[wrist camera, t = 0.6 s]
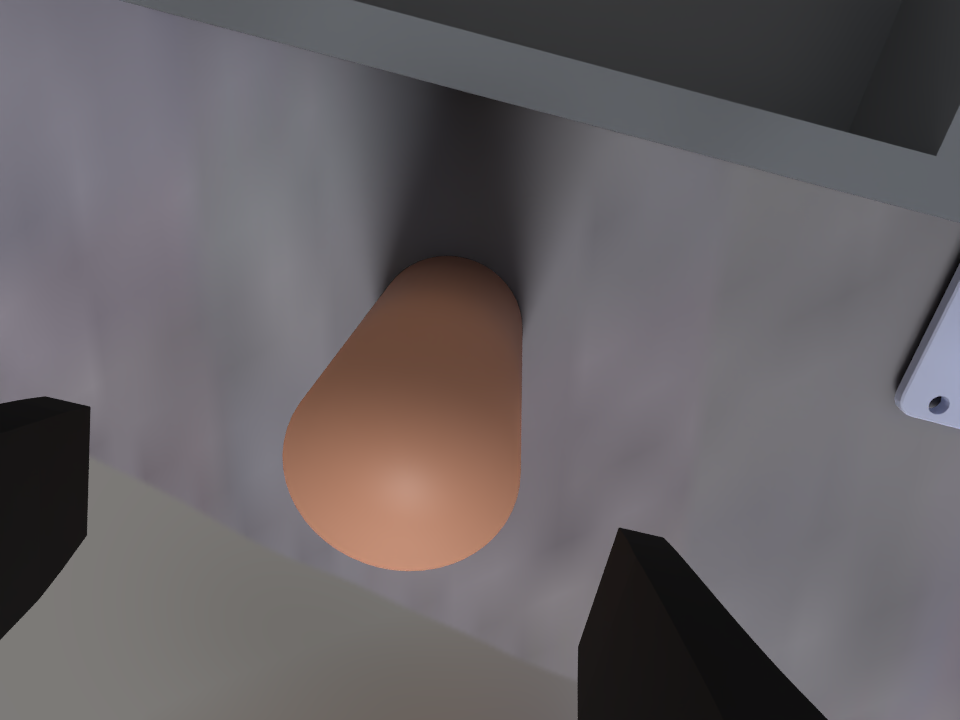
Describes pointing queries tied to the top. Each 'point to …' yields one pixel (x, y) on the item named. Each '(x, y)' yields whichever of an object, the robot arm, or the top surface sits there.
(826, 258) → the top surface
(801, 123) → the box
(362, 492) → the peg
